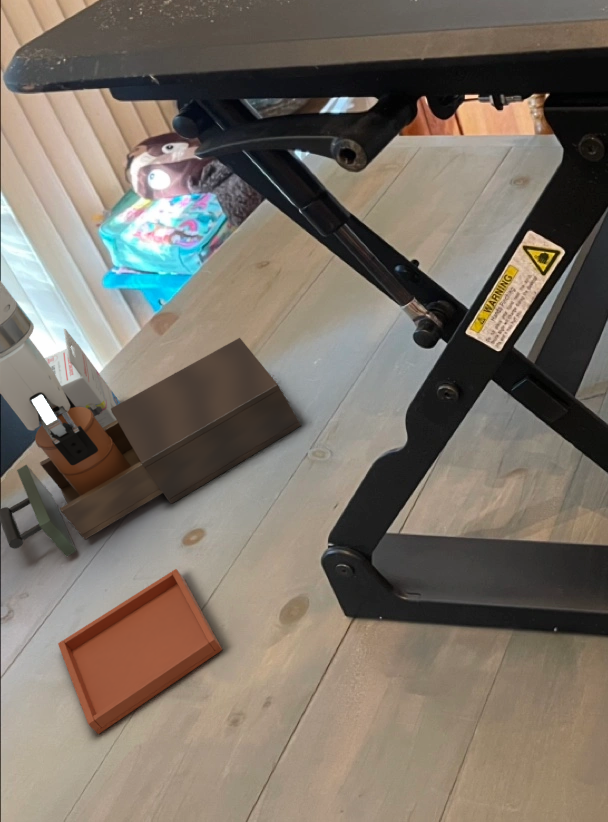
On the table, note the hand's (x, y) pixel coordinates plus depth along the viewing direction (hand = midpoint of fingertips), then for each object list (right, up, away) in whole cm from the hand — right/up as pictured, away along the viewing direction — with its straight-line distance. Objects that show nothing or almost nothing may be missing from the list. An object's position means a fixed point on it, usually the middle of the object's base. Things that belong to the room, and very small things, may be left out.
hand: (75, 437), depth 128 cm
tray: (+15, -21, -13) cm, 29 cm away
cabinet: (+12, -2, +13) cm, 17 cm away
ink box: (-6, -2, +18) cm, 19 cm away
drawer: (0, -8, +6) cm, 10 cm away
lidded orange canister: (+1, -7, +5) cm, 9 cm away
